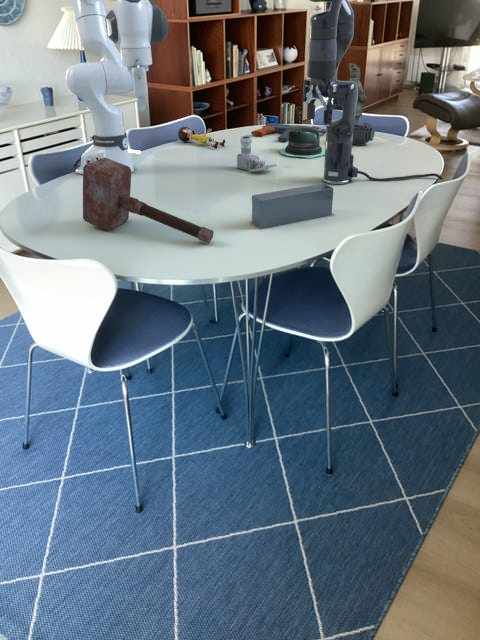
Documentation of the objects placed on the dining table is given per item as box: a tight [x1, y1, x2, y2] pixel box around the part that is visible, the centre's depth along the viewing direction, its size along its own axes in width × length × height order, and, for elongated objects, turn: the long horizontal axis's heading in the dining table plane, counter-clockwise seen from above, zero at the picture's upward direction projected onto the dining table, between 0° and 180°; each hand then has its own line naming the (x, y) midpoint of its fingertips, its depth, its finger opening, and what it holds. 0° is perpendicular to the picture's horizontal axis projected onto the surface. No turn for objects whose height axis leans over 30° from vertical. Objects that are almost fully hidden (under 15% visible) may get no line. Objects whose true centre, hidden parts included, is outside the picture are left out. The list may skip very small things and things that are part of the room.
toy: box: [352, 122, 376, 146], centre depth 244 cm, size 9×9×15 cm
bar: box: [251, 182, 334, 229], centre depth 165 cm, size 24×6×8 cm, turn 115°
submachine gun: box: [250, 122, 326, 142], centre depth 262 cm, size 32×3×25 cm
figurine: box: [177, 126, 226, 150], centre depth 251 cm, size 13×8×25 cm
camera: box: [236, 135, 277, 173], centre depth 210 cm, size 9×12×15 cm
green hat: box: [279, 128, 325, 159], centre depth 234 cm, size 15×19×20 cm
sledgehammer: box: [82, 158, 214, 244], centre depth 155 cm, size 17×10×40 cm
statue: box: [348, 62, 368, 125], centre depth 262 cm, size 11×9×30 cm
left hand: (141, 108), depth 170 cm, fingers open, 8 cm apart
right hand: (318, 121), depth 156 cm, fingers open, 8 cm apart
